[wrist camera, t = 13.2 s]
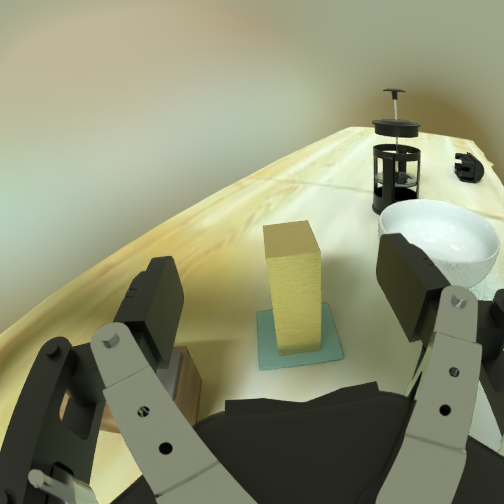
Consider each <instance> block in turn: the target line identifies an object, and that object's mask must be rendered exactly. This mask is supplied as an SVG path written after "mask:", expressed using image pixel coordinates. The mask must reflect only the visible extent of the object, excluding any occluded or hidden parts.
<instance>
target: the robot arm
mask: <svg viewBox="0 0 504 504" xmlns="http://www.w3.org/2000/svg"><path fill="white" fill-rule="evenodd" d="M376 276H377V280H378V283H379V285H380V287H381V289H382V290H383V292H384V294H385V296H386V298H387V300H388V301H389V303H390V305H391V307H392V309H393V311H394V313H395V315H396V316H397V318H398V320H399V322H400V324H401V326H402V328H403V330H404V332H405V334H406V336H407V338H408V340H409V342H414V341H418V340H421V341H422V343H423V344H422V346H421V349H420V352H419V355H418V358H417V362H416V365H415V368H414V371H413V374H412V377H411V380H410V382H409V385H408V388H407V390H406V393H405V395H404V396H403V395H401V394H397V393H392V392H385V391H379V388H378V385H377V382H376V381H375V382H370V383H366V384H361V385H356V386H351V387H345V388H341V389H338V390H336V391H333V392H331V393H328V394H326V395H323V396H321V397H318V398H316V399H313V400H310V401H307V402H291V401H282V400H274V399H266V398H258V399H243V400H225V411H222V412H218V413H216V414H213V415H210V416H208V417H206V418H204V419H202V420H201V421H199V422H198V423H196V424H195V425H193V426H192V427H191V425H190V424H189V423H188V421H187V420H186V419H185V417H184V416H183V414H182V413H181V412H180V410H179V409H178V407H177V406H176V404H175V403H174V402H173V400H172V399H171V397H170V396H169V394H168V393H167V391H166V390H165V388H164V387H163V385H162V384H161V382H160V380H159V379H158V377H157V376H156V372H157V369H168V368H169V364H170V359H171V354H172V350H173V345H174V341H175V337H176V332H177V328H178V324H179V320H180V315H181V311H182V307H183V303H184V294H183V288H182V285H181V282H180V279H179V275H178V272H177V269H176V265H175V262H174V259H173V257H172V256H165V257H155V258H152V259H151V261H150V263H149V265H148V267H147V270H146V271H143V272H141V273H139V274H138V275H137V276H136V277H135V278H134V279H133V281H132V283H131V285H130V287H129V289H128V290H129V291H127V293H126V295H125V298H124V299H123V301H122V303H121V305H120V308H119V310H118V312H117V314H116V316H115V318H114V321H113V323H109V324H107V325H104V326H103V327H101V328H100V329H98V330H97V331H96V332H95V333H94V335H93V336H92V339H91V342H90V343H86V344H82V345H78V346H74V347H73V346H72V345H71V343H70V342H69V340H68V339H67V338H65V337H55V338H53V339H51V340H49V341H47V342H46V343H45V344H44V345H43V346H42V348H41V349H40V351H39V353H38V355H37V357H36V359H35V361H34V364H33V366H32V368H31V370H30V372H29V375H28V377H27V379H26V381H25V384H24V386H23V389H22V391H21V393H20V396H19V398H18V401H17V404H16V406H15V409H14V411H13V414H12V417H11V420H10V423H9V426H8V428H7V431H6V435H5V438H4V441H3V444H2V447H1V451H0V504H99V503H98V502H97V500H96V497H95V494H94V492H93V490H92V488H91V487H90V486H89V483H90V477H91V471H92V465H93V459H94V454H95V448H96V443H97V438H98V434H99V429H100V424H101V420H102V416H103V411H104V407H105V403H106V401H107V404H108V406H109V408H110V411H111V413H112V415H113V418H114V420H115V422H116V424H117V426H118V428H119V430H120V433H121V435H122V437H123V439H124V441H125V443H126V445H127V447H128V448H129V450H130V452H131V454H132V456H133V458H134V460H135V462H136V463H137V465H138V467H139V469H140V470H141V472H142V475H141V476H140V477H139V478H138V479H137V480H136V481H135V482H134V483H133V484H131V485H130V486H129V487H128V488H127V489H126V490H125V491H124V492H123V493H121V494H120V495H119V496H118V497H117V498H116V499H114V500H113V501H112V502H111V503H110V504H504V351H503V349H504V289H500V290H498V291H497V292H496V293H495V296H494V298H493V300H492V301H483V300H477V298H476V296H475V295H474V294H473V293H472V292H471V291H470V290H468V289H466V288H464V287H461V286H456V285H451V283H450V282H449V281H448V280H447V278H446V277H445V276H444V275H443V273H442V272H441V271H440V270H439V269H438V267H437V266H435V264H434V262H433V261H432V260H431V259H429V257H428V255H427V254H426V253H425V252H424V251H423V250H422V249H421V248H419V247H417V246H416V245H414V244H410V243H409V242H408V241H407V239H406V238H405V237H404V236H403V235H402V234H401V233H390V234H382V235H381V237H380V243H379V251H378V259H377V266H376ZM479 380H480V382H481V385H482V387H483V389H484V391H485V394H486V396H487V399H488V401H489V403H490V406H491V408H492V411H493V414H494V416H495V419H496V421H497V424H498V427H499V430H500V433H501V436H502V440H501V448H500V449H499V450H498V452H495V451H494V450H492V449H490V448H489V447H487V446H486V445H484V444H482V443H481V442H479V441H477V440H476V439H474V438H473V437H471V436H469V435H468V433H469V429H470V425H471V420H472V416H473V411H474V406H475V400H476V395H477V388H478V382H479ZM65 393H66V394H67V395H68V396H69V398H68V402H67V405H66V408H65V411H64V415H63V418H62V421H61V419H60V408H61V404H62V401H63V398H64V395H65Z"/></svg>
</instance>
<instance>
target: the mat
mask: <svg viewBox="0 0 504 504" xmlns="http://www.w3.org/2000/svg"><path fill="white" fill-rule="evenodd" d="M257 325H258V356H259V370H267V369H276V368H285V367H293V366H300V365H308V364H314V363H321V362H327V361H333V360H339V359H344V355H343V352H342V348H341V345H340V341H339V338H338V335H337V331H336V328H335V325H334V322H333V318H332V315H331V312H330V309H329V306H328V303H327V302H326V303H321V349H320V351H315V352H308V353H301V354H293V355H285V356H279V353H278V345H277V338H276V330H275V322H274V315H273V310H267V311H258V312H257Z"/></svg>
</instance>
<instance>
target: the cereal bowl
mask: <svg viewBox="0 0 504 504" xmlns="http://www.w3.org/2000/svg"><path fill="white" fill-rule="evenodd" d="M378 226H379V229H378V232H379V242H380V237H381V235H382V234H390V233H401V234H402V235H403V236H404V237H405V238H406V239H407V241H408V242H409V243H410V244H414V245H416V246H417V247H419V248H421V249H422V250H423V251H424V252H425V253H426V254H427V255H428V257H429V259H431V260H432V261H433V262H434V264H435V266H437V267H438V269H439V270H440V271H441V272H442V273H443V275H444V276H445V277H446V278H447V280H448V281H449V282H450V283H451V285H456V286H461V287H464V288H466V289H467V288H470V287H472V286H474V285H476V284H478V283H479V282H480V281H482V280H483V279H484V278H485V277H486V276H487V275H488V274H489V272H490V270H491V269H492V267H493V265H494V263H495V261H496V258H497V256H498V253H499V249H500V240H499V236H498V234H497V232H496V231H495V229H494V228H493V227H492V226H491V225H490V224H489V223H488V222H487V221H486V220H485V219H483V218H482V217H481V216H479V215H478V214H476V213H474V212H472V211H470V210H468V209H466V208H463V207H460V206H458V205H455V204H451V203H448V202H443V201H437V200H428V199H414V200H406V201H401V202H397V203H394V204H392V205H390V206H388V207H387V208H385V209H384V210H383V211H382V213H381V215H380V217H379V225H378Z"/></svg>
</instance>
